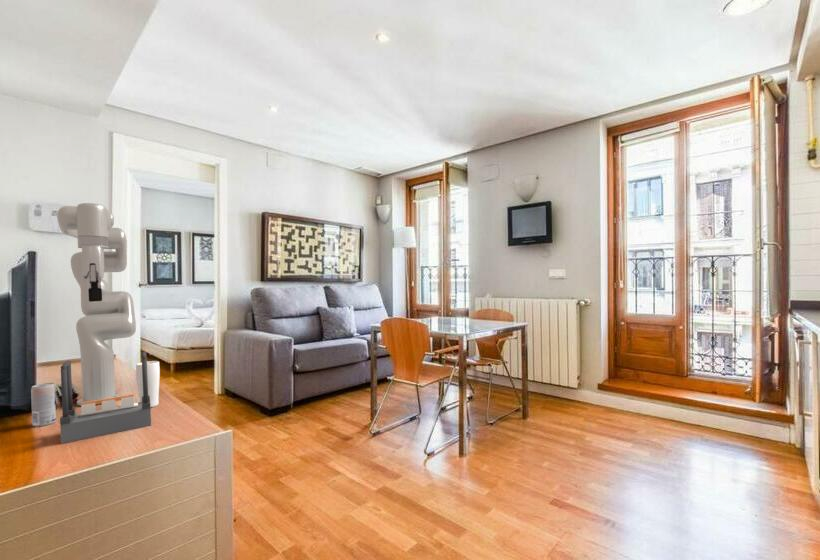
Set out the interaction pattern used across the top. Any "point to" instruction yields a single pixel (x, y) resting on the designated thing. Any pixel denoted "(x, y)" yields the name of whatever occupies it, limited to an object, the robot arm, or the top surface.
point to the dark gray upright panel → (66, 394)
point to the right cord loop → (145, 383)
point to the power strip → (105, 423)
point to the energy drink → (43, 404)
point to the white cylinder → (149, 381)
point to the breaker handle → (107, 405)
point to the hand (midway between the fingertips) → (95, 301)
